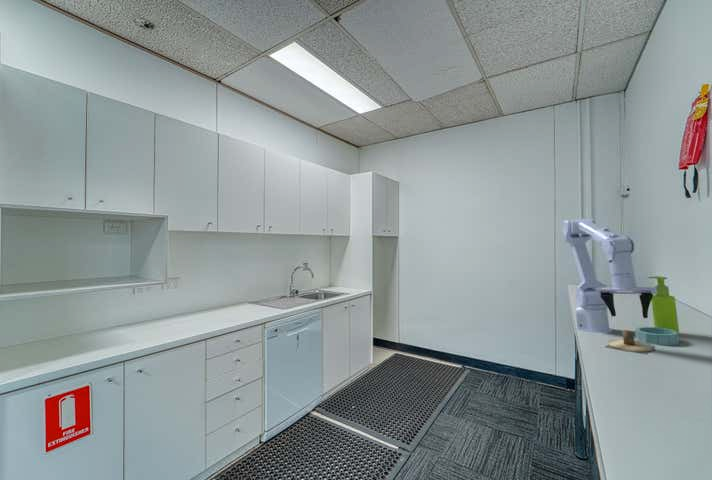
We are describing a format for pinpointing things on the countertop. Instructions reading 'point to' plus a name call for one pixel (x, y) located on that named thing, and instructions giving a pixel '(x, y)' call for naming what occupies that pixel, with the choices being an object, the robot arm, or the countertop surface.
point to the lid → (629, 343)
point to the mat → (629, 351)
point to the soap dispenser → (664, 307)
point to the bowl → (657, 335)
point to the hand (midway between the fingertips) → (629, 316)
